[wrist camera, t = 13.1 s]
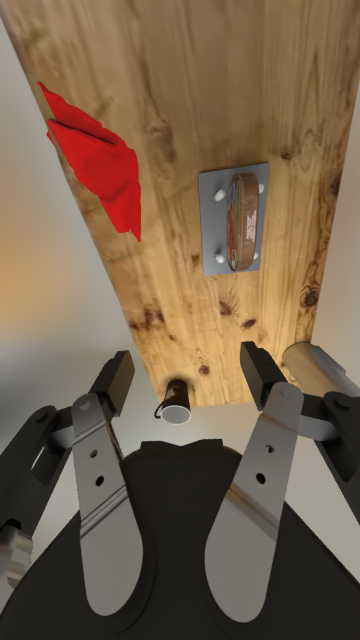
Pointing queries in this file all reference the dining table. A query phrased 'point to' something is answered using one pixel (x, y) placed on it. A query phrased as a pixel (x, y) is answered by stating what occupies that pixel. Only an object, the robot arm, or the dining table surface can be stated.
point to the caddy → (225, 216)
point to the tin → (242, 220)
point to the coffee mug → (175, 404)
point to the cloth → (98, 162)
